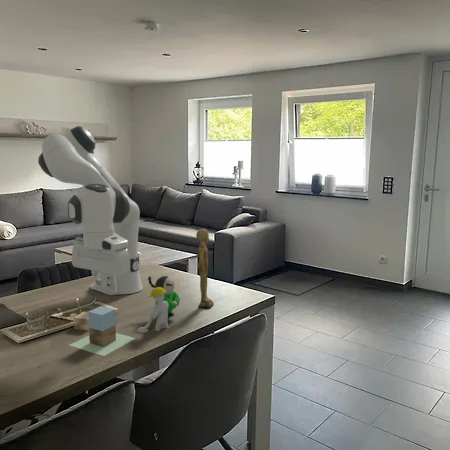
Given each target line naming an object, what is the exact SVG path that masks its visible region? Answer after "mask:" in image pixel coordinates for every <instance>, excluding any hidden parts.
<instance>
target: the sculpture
mask: <svg viewBox="0 0 450 450" xmlns="http://www.w3.org/2000/svg"><path fill="white" fill-rule="evenodd" d="M195 236H196V238H197V240H198V241H199V242H200V243H199V246H198V250H197V251H198V256H199V261H198V265H197V268H198V271H199V278H200V280H199V288H200V294H201V295H200V296H201V297H200V302H199V304H198V307H200V308H211V307H212V306H213V305H214V304H215V303H214V301H213V300H212V299H210V298H209V297H208V295H207V293H208V292H207V290H208V272H209V270H208V269H209V259H208V258H209V257H208V253H209V249H208V247H207V244H209V242H210V238H209V230H208V229H206V228H200V229H198V230H197V231H196V234H195Z"/></svg>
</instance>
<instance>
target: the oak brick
mask: <svg viewBox="0 0 450 450" xmlns="http://www.w3.org/2000/svg"><path fill="white" fill-rule="evenodd" d="M88 312H89V311H82V312H79V313H80V314H78V315H77V316H75V317H74V321H73V328H74V330H79V331H88V332H89V318H88Z"/></svg>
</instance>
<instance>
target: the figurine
mask: <svg viewBox="0 0 450 450" xmlns="http://www.w3.org/2000/svg"><path fill="white" fill-rule="evenodd" d="M165 292H166V290H165V289H164V288H161V287H156V288H154V287H153V289H152V291H151V292H150V295H148V298H153V299H154V301H155V302H156V301H157V305H156V304H155V306H156V307H154V309H153V311H152V313H151V314H150V318H149V320H148V321H147V323H146V324H145V325H144V326H141V327H138V328H137V330H136V332H137V333H140V334H141V333H142V334H143V333H147V332H149V327H150V325H151V324H152V322H153V320H154V319H156V323H155V326H154V331H156V332H159V331H161V330H160V329H161V326H163V327H164V328H165V329H169V328H170V327H169V322H168V321H169V316H168V306H169V305H168V302H167V301H163V299H164V296H165Z"/></svg>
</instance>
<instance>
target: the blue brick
mask: <svg viewBox="0 0 450 450" xmlns="http://www.w3.org/2000/svg"><path fill="white" fill-rule="evenodd" d="M87 312H88V318H89V328H93V329H96V330H100V331H104V330H106V329H108V328H110V327H112V326H114V325H116V309H115V308H111V307H106V306H102V305H100V306H98V307H96V308H93V309H90V310H89V311H87Z"/></svg>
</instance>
